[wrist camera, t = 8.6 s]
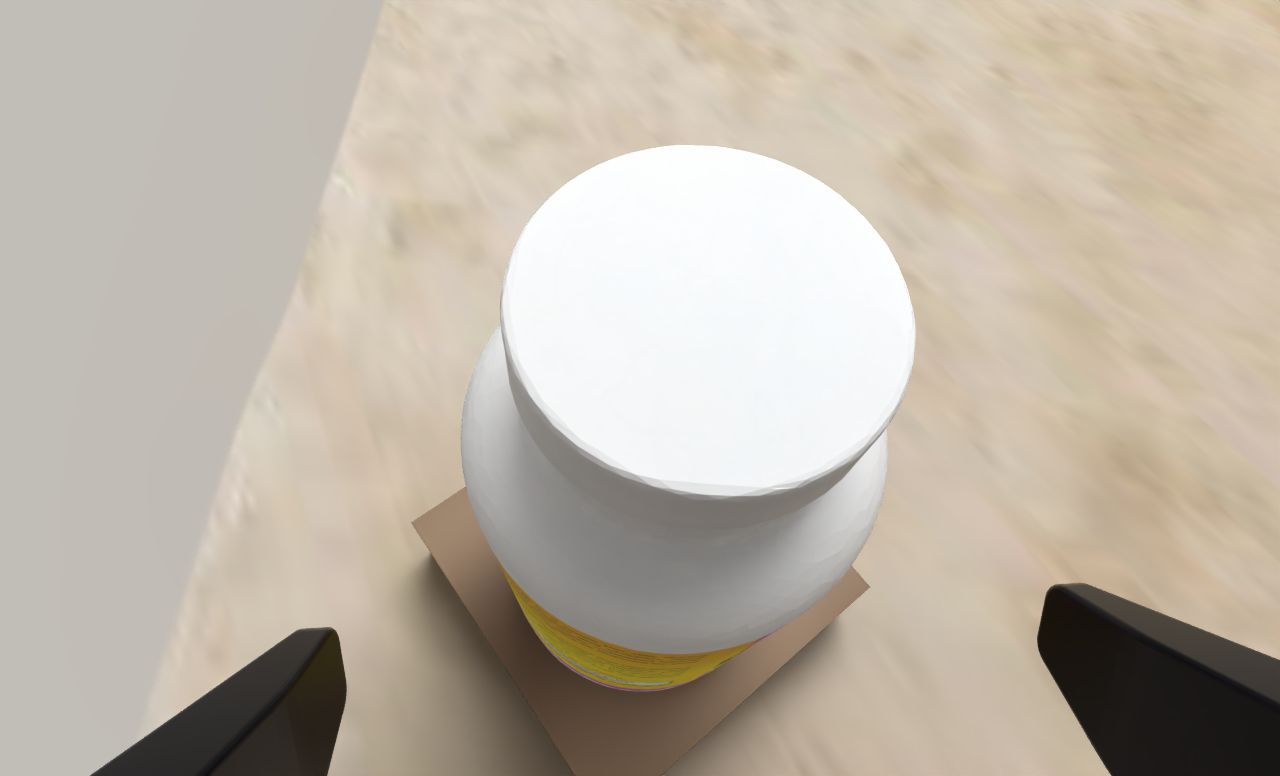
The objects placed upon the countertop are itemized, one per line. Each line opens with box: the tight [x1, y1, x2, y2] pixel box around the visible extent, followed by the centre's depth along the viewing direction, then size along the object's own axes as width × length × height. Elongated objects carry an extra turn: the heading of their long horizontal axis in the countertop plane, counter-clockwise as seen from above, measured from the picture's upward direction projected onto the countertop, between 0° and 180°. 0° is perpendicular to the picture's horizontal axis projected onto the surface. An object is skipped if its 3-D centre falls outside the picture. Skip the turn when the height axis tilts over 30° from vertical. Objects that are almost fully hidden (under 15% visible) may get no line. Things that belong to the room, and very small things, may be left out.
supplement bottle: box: [461, 145, 915, 691], centre depth 13 cm, size 7×7×13 cm
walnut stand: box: [411, 487, 870, 776], centre depth 21 cm, size 9×9×3 cm
